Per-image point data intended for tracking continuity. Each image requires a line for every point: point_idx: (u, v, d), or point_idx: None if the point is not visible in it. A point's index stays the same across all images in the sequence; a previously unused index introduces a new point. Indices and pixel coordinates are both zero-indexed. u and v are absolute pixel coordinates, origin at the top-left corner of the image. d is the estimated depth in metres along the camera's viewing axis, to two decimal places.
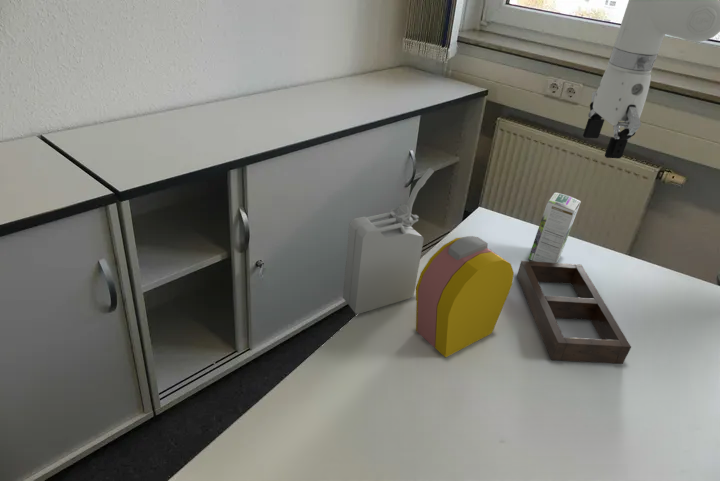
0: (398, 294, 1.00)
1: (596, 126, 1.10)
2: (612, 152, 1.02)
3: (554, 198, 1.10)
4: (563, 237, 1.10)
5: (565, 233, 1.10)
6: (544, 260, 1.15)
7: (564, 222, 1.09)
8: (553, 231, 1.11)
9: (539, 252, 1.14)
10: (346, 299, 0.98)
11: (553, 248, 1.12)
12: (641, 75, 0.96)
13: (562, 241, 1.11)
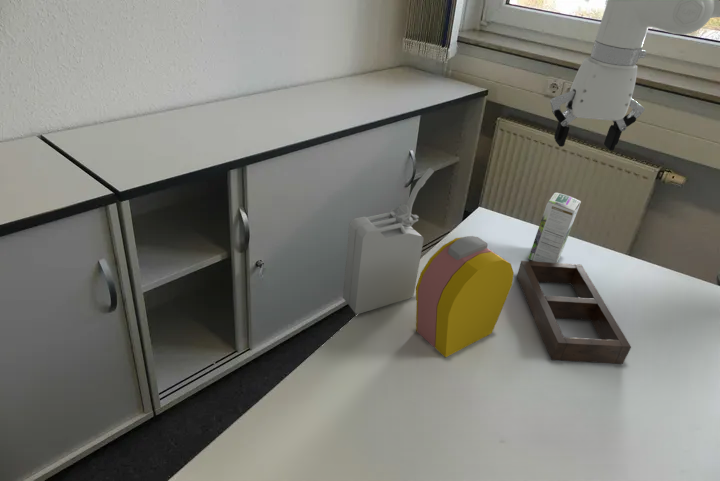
0: (398, 294, 1.00)
1: None
2: None
3: (554, 198, 1.10)
4: (563, 237, 1.10)
5: (565, 233, 1.10)
6: (544, 260, 1.15)
7: (565, 222, 1.09)
8: (553, 231, 1.11)
9: (539, 252, 1.14)
10: (346, 299, 0.98)
11: (553, 248, 1.12)
12: (634, 65, 0.95)
13: (562, 241, 1.11)
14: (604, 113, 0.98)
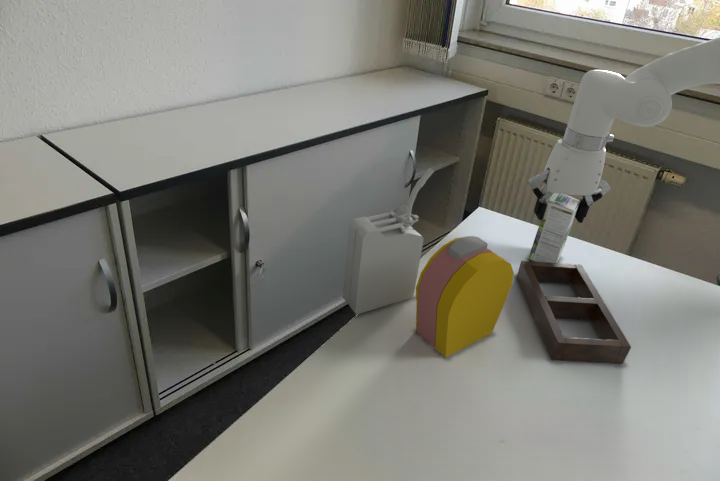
0: (398, 294, 1.00)
1: None
2: None
3: (553, 198, 1.10)
4: (563, 237, 1.10)
5: (565, 233, 1.10)
6: (544, 260, 1.15)
7: (564, 222, 1.09)
8: (553, 230, 1.11)
9: (539, 252, 1.14)
10: (346, 299, 0.98)
11: (553, 248, 1.12)
12: (603, 147, 1.03)
13: (562, 241, 1.11)
14: (576, 190, 1.06)
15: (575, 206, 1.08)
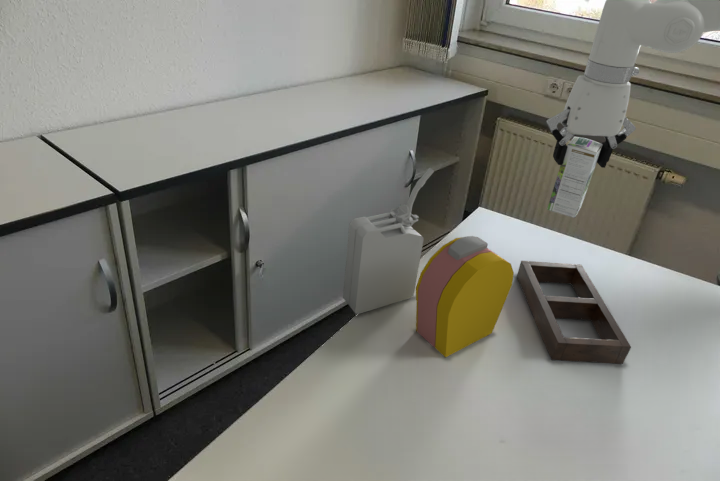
0: (398, 294, 1.00)
1: None
2: None
3: (574, 141, 1.03)
4: (584, 183, 1.03)
5: (587, 178, 1.03)
6: (564, 210, 1.08)
7: (586, 166, 1.02)
8: (573, 176, 1.04)
9: (558, 201, 1.07)
10: (346, 299, 0.98)
11: (573, 196, 1.05)
12: (628, 82, 0.97)
13: (583, 187, 1.04)
14: (599, 129, 0.99)
15: (597, 148, 1.01)
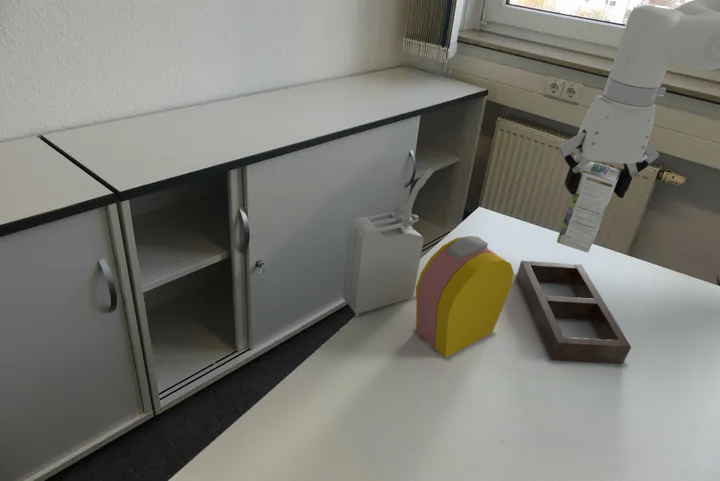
0: (398, 294, 1.00)
1: None
2: (625, 189, 0.92)
3: (589, 168, 0.92)
4: (600, 214, 0.92)
5: (603, 209, 0.91)
6: (576, 243, 0.96)
7: (602, 196, 0.90)
8: (588, 207, 0.92)
9: (570, 233, 0.96)
10: (346, 299, 0.98)
11: (587, 228, 0.94)
12: (652, 104, 0.85)
13: (599, 219, 0.92)
14: (618, 156, 0.87)
15: (615, 177, 0.90)
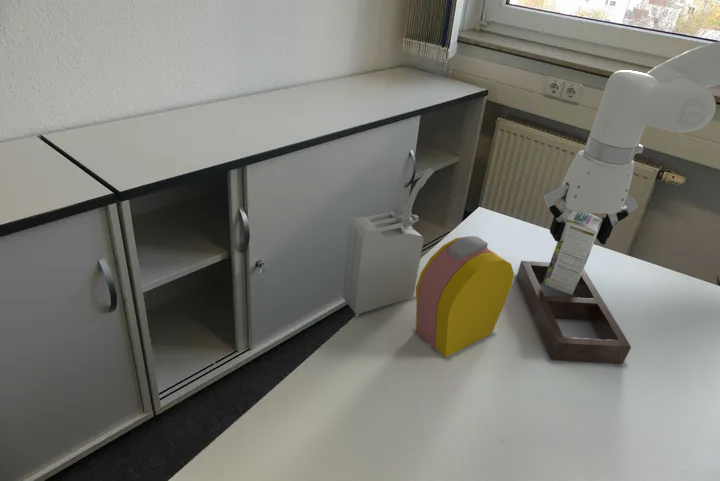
0: (398, 294, 1.00)
1: None
2: None
3: (572, 217, 0.97)
4: (583, 260, 0.97)
5: (585, 256, 0.96)
6: (561, 286, 1.01)
7: (585, 244, 0.95)
8: (571, 253, 0.97)
9: (555, 276, 1.01)
10: (346, 299, 0.98)
11: (571, 273, 0.99)
12: None
13: (582, 265, 0.97)
14: (599, 208, 0.93)
15: (597, 226, 0.95)
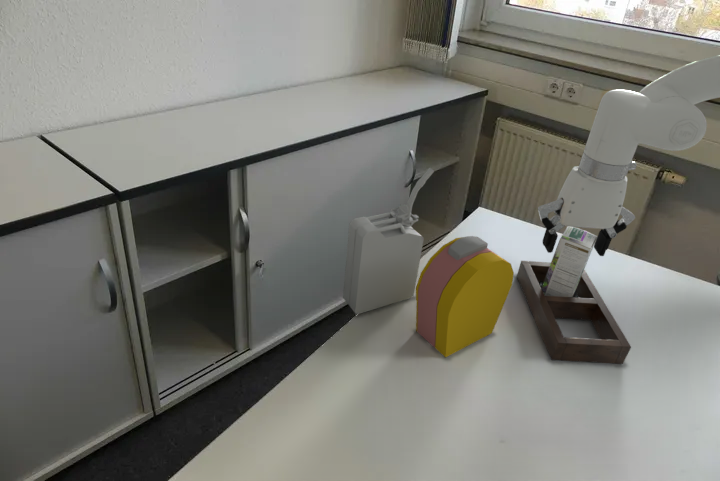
0: (398, 294, 1.00)
1: None
2: (605, 248, 0.99)
3: (567, 233, 0.99)
4: (578, 276, 0.99)
5: (580, 272, 0.98)
6: None
7: (579, 261, 0.97)
8: (566, 269, 0.99)
9: (550, 291, 1.03)
10: (346, 299, 0.98)
11: (566, 288, 1.01)
12: (624, 175, 0.92)
13: (576, 281, 0.99)
14: (593, 223, 0.94)
15: (592, 243, 0.97)
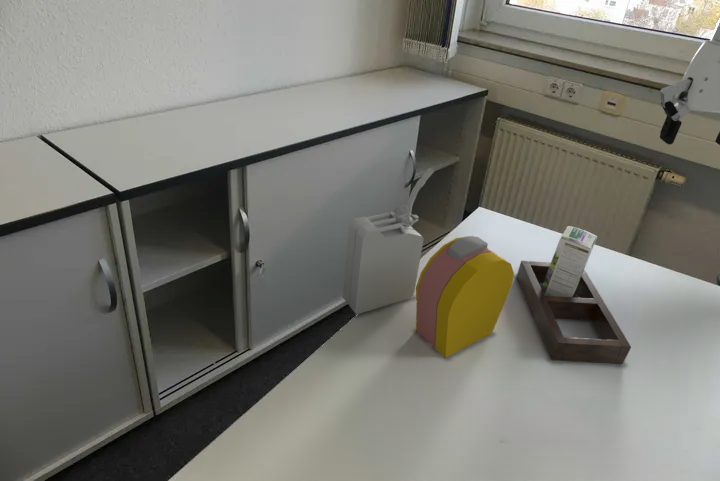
0: (398, 294, 1.00)
1: None
2: None
3: (567, 233, 0.99)
4: (578, 276, 0.99)
5: (580, 272, 0.98)
6: None
7: (579, 261, 0.97)
8: (566, 269, 0.99)
9: (550, 291, 1.03)
10: (346, 299, 0.98)
11: (566, 288, 1.01)
12: None
13: (576, 281, 0.99)
14: None
15: (592, 243, 0.97)
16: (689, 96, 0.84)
